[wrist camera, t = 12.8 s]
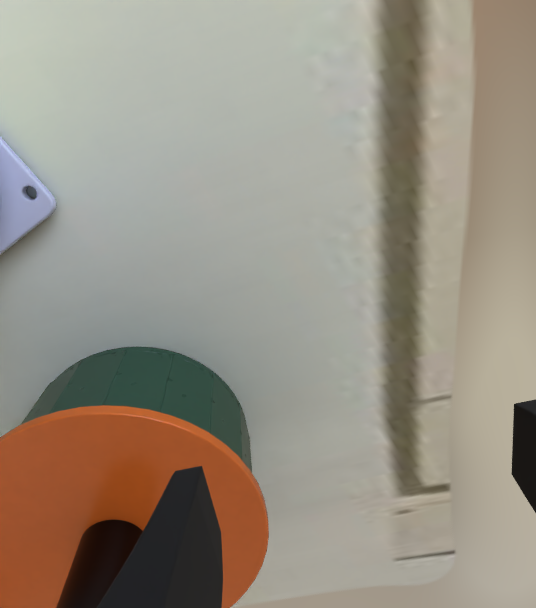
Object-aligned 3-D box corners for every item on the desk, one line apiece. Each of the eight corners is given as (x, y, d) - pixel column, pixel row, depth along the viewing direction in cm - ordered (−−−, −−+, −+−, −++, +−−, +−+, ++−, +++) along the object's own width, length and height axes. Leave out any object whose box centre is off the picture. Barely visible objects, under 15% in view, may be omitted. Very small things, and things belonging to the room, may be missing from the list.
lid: (-5, 626, 19) (-69, 763, 15) (-67, 396, 15) (-178, 498, 11) (262, 611, 20) (270, 735, 16) (271, 392, 16) (287, 483, 12)
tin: (-13, 426, 21) (-88, 520, 16) (156, 304, 19) (131, 365, 14) (134, 547, 24) (109, 656, 19) (286, 451, 23) (303, 542, 18)
